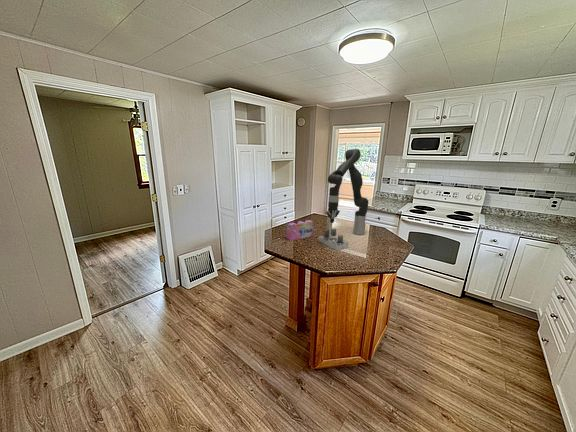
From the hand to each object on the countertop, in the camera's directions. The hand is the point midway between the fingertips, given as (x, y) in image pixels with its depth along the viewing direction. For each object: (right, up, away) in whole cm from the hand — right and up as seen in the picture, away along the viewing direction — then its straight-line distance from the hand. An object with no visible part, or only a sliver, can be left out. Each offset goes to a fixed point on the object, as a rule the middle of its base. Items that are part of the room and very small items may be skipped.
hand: (331, 222), depth 182 cm
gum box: (-24, -13, +17) cm, 33 cm away
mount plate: (+1, -17, +3) cm, 17 cm away
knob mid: (+1, -10, +1) cm, 10 cm away
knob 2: (+5, -15, -5) cm, 17 cm away
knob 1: (-3, -11, +8) cm, 14 cm away
